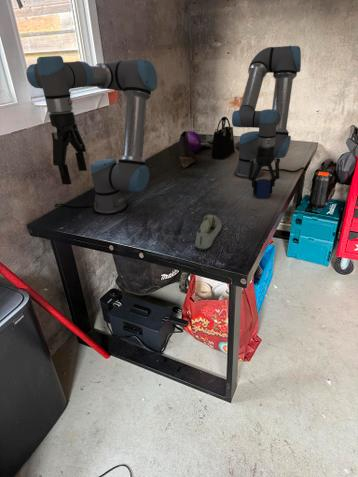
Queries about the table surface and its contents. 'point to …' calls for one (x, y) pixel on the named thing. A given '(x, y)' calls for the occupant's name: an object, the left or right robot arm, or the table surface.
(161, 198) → the table surface
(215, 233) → the ballet flat
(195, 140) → the decorative orb
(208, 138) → the pair of gloves
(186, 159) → the boot
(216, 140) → the handbag
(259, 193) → the canister
